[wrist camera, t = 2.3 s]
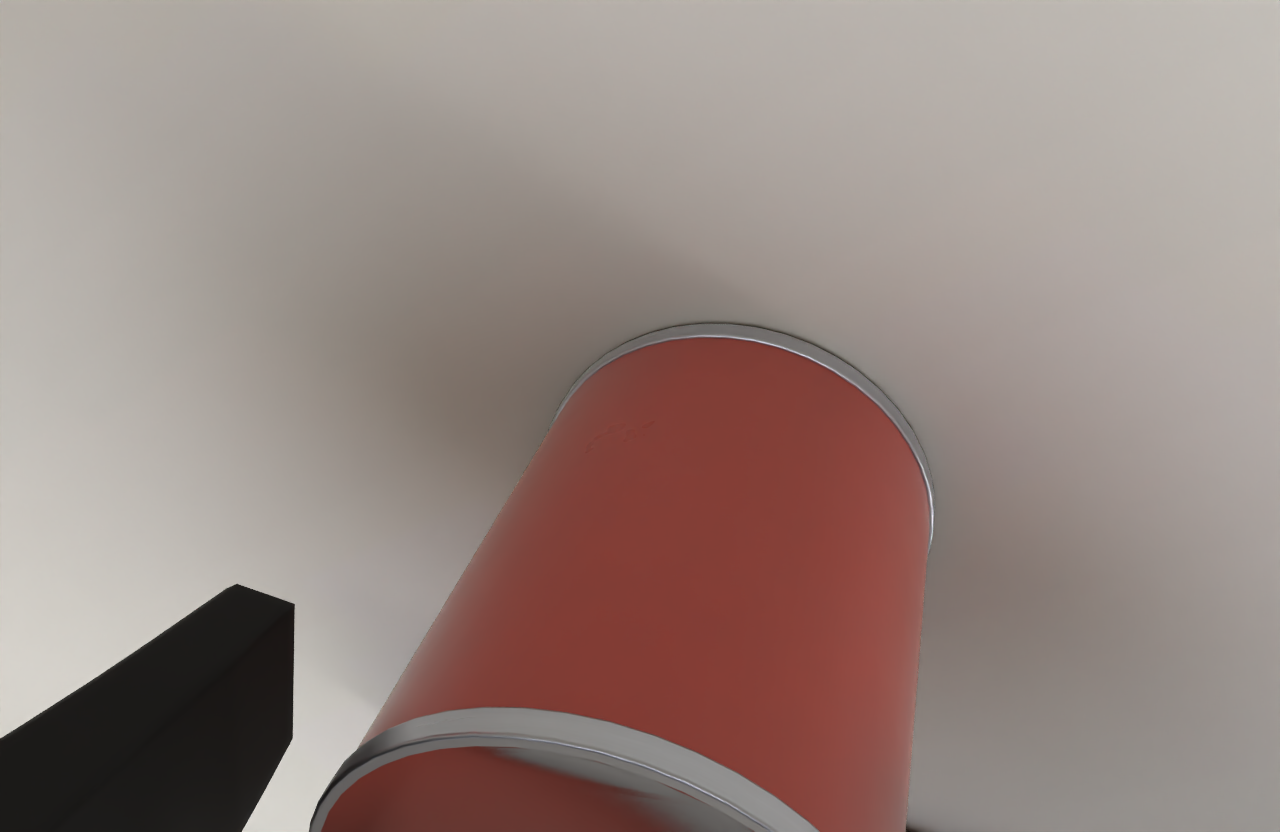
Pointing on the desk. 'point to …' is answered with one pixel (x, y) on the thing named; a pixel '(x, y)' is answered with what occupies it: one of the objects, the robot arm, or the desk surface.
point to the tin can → (675, 613)
